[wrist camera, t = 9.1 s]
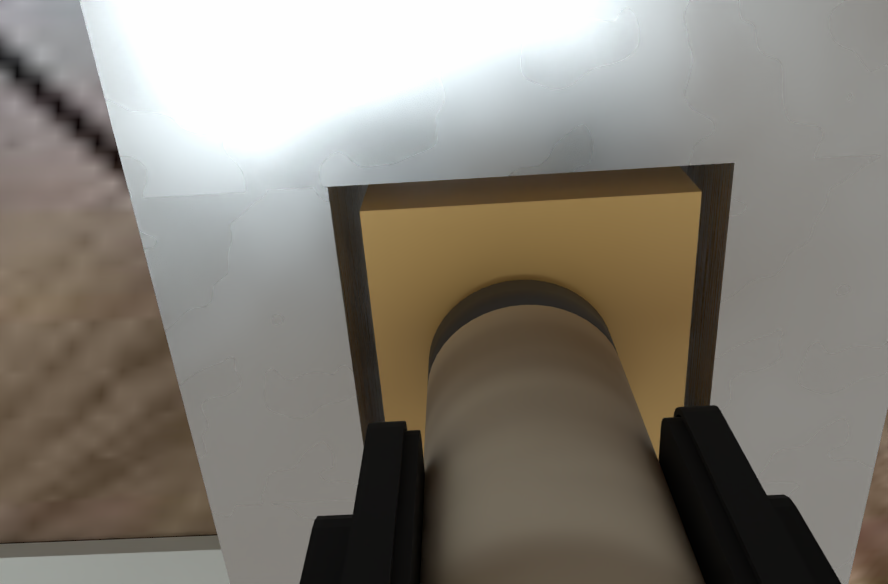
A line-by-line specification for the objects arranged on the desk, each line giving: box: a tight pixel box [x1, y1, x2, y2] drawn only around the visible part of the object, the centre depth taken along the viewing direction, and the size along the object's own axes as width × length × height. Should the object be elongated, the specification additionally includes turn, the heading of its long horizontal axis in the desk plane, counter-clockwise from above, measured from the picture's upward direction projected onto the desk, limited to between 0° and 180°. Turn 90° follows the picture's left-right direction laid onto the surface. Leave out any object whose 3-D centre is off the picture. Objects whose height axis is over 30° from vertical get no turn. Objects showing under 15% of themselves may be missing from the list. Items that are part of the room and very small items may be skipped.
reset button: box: [359, 166, 702, 461], centre depth 16 cm, size 6×6×3 cm
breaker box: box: [80, 0, 888, 584], centre depth 17 cm, size 18×14×5 cm
